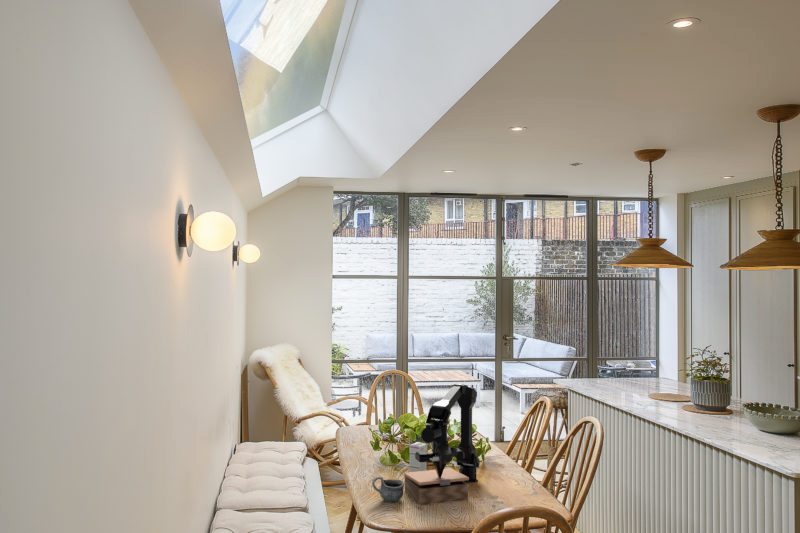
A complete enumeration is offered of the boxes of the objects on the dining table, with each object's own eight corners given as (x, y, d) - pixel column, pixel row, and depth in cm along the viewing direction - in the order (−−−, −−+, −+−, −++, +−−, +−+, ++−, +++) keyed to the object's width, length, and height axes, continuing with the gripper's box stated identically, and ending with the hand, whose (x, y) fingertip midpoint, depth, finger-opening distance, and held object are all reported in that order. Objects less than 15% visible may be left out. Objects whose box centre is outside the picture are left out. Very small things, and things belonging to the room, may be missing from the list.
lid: (450, 472, 256) (450, 467, 256) (469, 482, 238) (469, 477, 238) (404, 477, 249) (404, 472, 250) (420, 487, 231) (420, 482, 232)
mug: (408, 502, 235) (408, 476, 235) (378, 508, 230) (378, 481, 230) (397, 495, 244) (397, 469, 244) (368, 499, 238) (368, 473, 239)
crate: (450, 485, 256) (450, 470, 256) (468, 499, 238) (468, 484, 239) (404, 490, 249) (404, 475, 250) (419, 505, 232) (419, 489, 232)
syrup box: (420, 480, 262) (420, 446, 262) (409, 477, 266) (409, 444, 266) (427, 477, 267) (427, 443, 267) (416, 474, 270) (416, 441, 271)
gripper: (424, 444, 230) (424, 486, 230) (470, 440, 236) (469, 481, 235) (414, 436, 241) (414, 476, 240) (458, 433, 246) (458, 472, 246)
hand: (439, 477), depth 240 cm, fingers closed, pressing on lid
